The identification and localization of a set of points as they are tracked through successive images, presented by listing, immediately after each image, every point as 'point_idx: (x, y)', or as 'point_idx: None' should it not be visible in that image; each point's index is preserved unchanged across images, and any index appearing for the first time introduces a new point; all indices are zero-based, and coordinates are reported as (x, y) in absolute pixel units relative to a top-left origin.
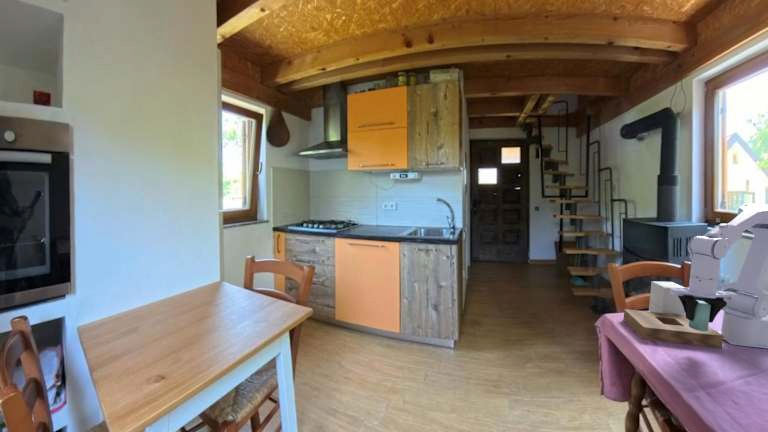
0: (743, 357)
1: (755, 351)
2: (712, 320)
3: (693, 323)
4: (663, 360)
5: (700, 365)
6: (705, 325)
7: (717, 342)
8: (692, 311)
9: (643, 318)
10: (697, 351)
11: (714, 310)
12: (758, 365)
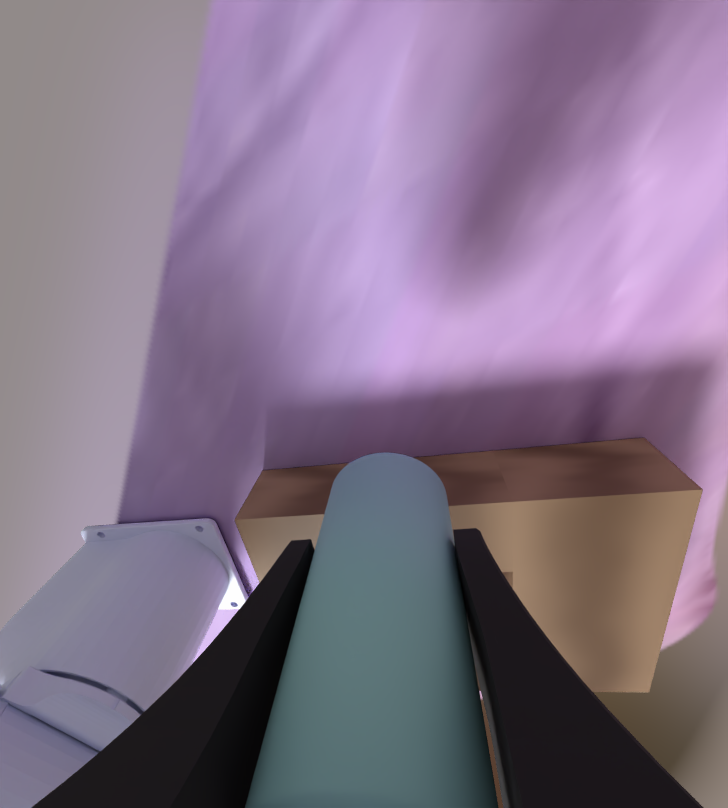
0: (200, 408)
1: (141, 488)
2: (286, 555)
3: (442, 510)
4: (705, 136)
5: (463, 184)
6: (359, 490)
7: (273, 487)
8: (511, 631)
9: (605, 610)
10: (393, 388)
11: (234, 684)
12: (159, 345)
